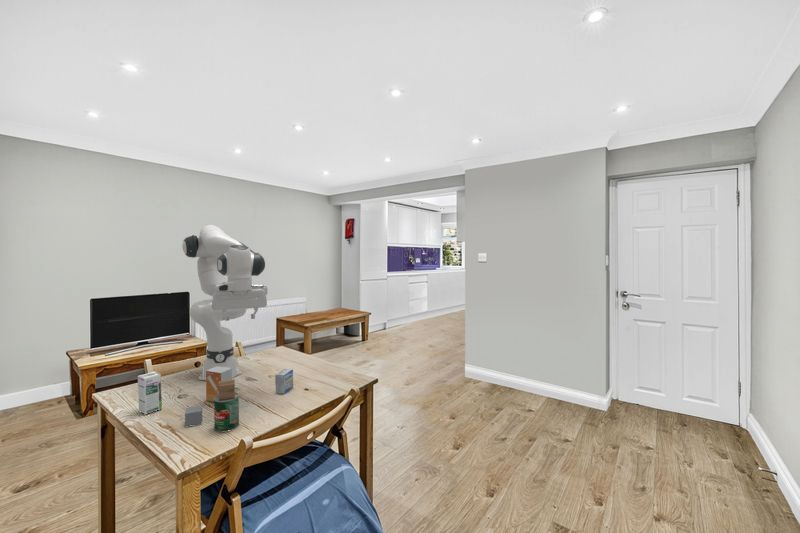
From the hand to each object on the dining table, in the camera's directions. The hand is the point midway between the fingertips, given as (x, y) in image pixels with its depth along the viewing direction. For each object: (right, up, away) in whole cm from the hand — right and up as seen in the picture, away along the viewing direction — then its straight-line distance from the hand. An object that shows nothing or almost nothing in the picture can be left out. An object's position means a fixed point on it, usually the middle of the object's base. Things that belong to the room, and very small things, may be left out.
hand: (240, 319), depth 139 cm
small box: (-12, -35, +6) cm, 37 cm away
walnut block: (+3, -25, -16) cm, 30 cm away
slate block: (-11, -36, -14) cm, 40 cm away
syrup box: (-33, -35, -5) cm, 49 cm away
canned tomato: (+3, -36, -16) cm, 40 cm away
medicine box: (+13, -35, +16) cm, 40 cm away
